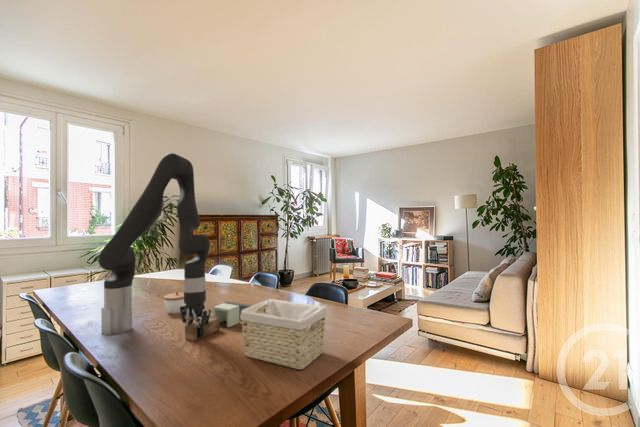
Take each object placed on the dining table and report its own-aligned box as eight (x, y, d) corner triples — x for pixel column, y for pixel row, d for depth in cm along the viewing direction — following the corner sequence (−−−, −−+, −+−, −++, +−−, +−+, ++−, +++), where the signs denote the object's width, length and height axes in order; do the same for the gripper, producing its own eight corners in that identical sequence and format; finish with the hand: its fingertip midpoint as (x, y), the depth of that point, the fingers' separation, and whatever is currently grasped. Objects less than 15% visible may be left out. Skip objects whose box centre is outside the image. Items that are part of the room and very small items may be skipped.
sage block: (228, 327, 120) (228, 309, 120) (213, 324, 124) (213, 306, 124) (239, 322, 125) (239, 305, 125) (224, 319, 129) (224, 303, 129)
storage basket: (238, 356, 95) (237, 309, 96) (270, 338, 110) (269, 297, 110) (302, 375, 84) (302, 321, 84) (329, 352, 98) (328, 306, 98)
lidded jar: (182, 315, 136) (182, 294, 136) (159, 315, 136) (159, 294, 136) (193, 308, 147) (193, 288, 147) (171, 308, 147) (171, 288, 147)
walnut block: (193, 340, 108) (193, 328, 108) (184, 338, 110) (184, 326, 110) (219, 329, 118) (219, 318, 118) (211, 327, 120) (210, 316, 120)
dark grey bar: (252, 321, 127) (252, 307, 127) (224, 316, 135) (224, 302, 135) (260, 317, 132) (260, 304, 132) (232, 312, 139) (232, 299, 139)
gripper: (172, 289, 111) (173, 336, 111) (200, 293, 104) (200, 343, 104) (190, 285, 118) (190, 329, 117) (216, 288, 111) (217, 335, 111)
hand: (195, 335), depth 111 cm, fingers closed on walnut block, 4 cm apart
